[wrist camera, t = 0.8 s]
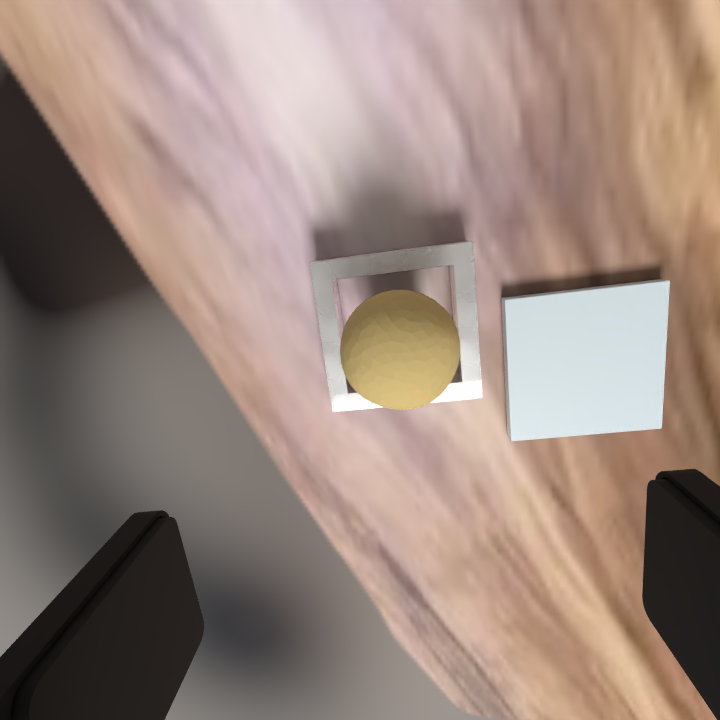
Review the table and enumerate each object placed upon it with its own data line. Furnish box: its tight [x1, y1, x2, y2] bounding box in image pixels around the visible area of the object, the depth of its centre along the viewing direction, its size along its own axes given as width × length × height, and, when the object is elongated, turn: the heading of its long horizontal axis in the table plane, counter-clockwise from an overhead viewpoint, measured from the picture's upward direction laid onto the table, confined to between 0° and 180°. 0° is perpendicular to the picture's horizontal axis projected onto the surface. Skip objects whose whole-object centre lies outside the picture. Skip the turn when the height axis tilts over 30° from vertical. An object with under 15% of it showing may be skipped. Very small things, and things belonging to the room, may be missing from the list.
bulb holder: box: [309, 241, 482, 412], centre depth 29 cm, size 10×10×2 cm
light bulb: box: [340, 290, 460, 410], centre depth 26 cm, size 6×6×10 cm
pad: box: [501, 279, 670, 441], centre depth 30 cm, size 10×10×1 cm
